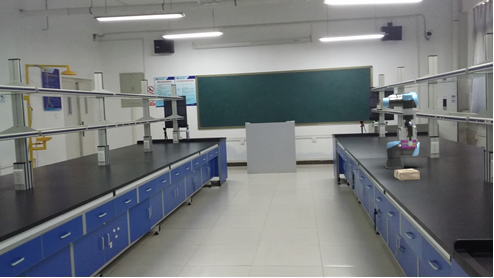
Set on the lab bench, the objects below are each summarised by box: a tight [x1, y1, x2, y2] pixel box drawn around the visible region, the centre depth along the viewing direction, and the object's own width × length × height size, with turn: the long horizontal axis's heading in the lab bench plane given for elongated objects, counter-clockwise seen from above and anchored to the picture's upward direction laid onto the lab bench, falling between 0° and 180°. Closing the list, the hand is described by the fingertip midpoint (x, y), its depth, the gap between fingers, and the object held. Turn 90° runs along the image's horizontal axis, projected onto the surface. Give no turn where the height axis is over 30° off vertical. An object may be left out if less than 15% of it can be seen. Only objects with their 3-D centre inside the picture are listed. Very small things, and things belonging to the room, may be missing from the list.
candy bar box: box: [399, 125, 418, 149], centre depth 312 cm, size 11×5×16 cm, turn 65°
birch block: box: [393, 168, 421, 181], centre depth 314 cm, size 14×14×6 cm
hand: (409, 145), depth 313 cm, fingers closed on candy bar box, 6 cm apart
